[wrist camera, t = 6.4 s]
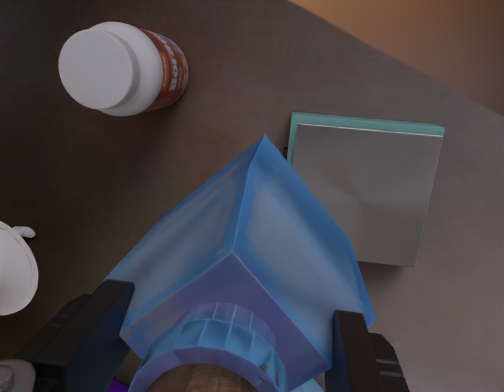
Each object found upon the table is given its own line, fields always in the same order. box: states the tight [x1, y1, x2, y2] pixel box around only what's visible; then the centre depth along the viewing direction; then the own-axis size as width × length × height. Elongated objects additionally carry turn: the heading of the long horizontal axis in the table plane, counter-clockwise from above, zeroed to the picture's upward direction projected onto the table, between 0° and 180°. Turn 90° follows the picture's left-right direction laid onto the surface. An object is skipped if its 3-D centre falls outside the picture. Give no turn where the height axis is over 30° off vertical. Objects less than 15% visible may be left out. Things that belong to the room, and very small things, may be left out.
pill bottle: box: [59, 22, 188, 116], centre depth 30 cm, size 6×6×11 cm
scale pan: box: [292, 123, 443, 267], centre depth 33 cm, size 11×11×1 cm
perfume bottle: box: [103, 134, 376, 392], centre depth 13 cm, size 6×6×12 cm
